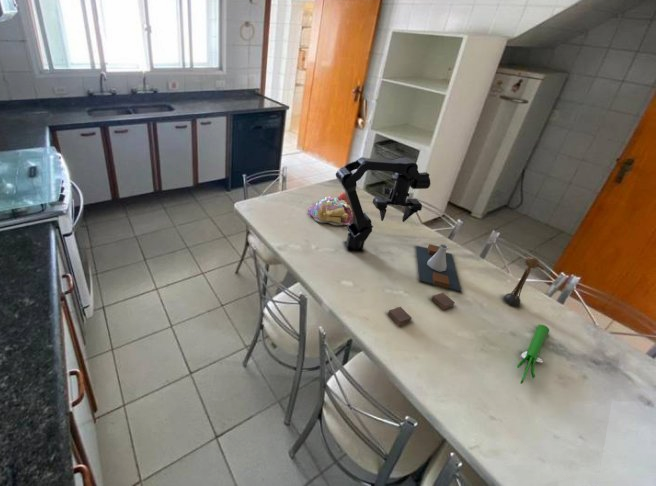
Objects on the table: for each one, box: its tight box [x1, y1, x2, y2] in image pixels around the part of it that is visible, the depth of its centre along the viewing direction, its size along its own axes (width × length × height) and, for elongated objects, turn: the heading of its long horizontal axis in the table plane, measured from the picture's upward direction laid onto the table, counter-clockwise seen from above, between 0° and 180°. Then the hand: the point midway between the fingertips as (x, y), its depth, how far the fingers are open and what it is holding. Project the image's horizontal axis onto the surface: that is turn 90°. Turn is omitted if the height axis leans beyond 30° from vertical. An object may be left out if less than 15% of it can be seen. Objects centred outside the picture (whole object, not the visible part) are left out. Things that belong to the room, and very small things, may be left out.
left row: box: [387, 292, 455, 327], centre depth 113 cm, size 5×25×2 cm, turn 112°
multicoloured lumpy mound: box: [308, 191, 353, 226], centre depth 167 cm, size 25×24×9 cm
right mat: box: [416, 243, 462, 293], centre depth 133 cm, size 14×25×3 cm, turn 159°
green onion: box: [516, 323, 550, 385], centre depth 98 cm, size 5×3×30 cm
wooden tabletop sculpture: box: [503, 256, 546, 308], centre depth 114 cm, size 6×5×20 cm
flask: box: [427, 243, 449, 272], centre depth 132 cm, size 7×7×10 cm
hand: (392, 221), depth 140 cm, fingers open, 9 cm apart
